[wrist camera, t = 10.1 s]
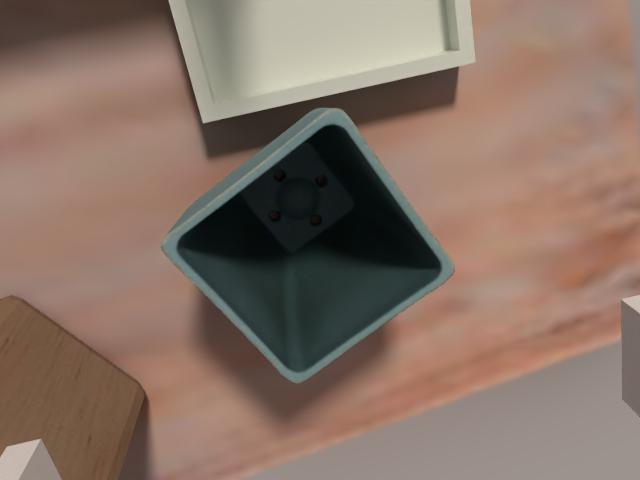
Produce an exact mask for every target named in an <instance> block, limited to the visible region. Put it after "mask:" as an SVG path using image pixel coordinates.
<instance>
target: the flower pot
mask: <svg viewBox="0 0 640 480" xmlns="http://www.w3.org/2000/svg"><path fill="white" fill-rule="evenodd" d="M276 171H282V172H283V173H284V178H283V179H282V180H277V179H276V178H275V176H274V174H275V172H276ZM318 176H323V177H324V178H325V183H324V184H322V185H319V184H318V183H317V182H316V179H317V177H318ZM273 211H277V212H278V213H279V218H278V219H277V220H273V219H271V218H270V213H271V212H273ZM312 216H318V217H319V219H320V220H319V222H318V223H317V224H313V223H311V217H312ZM161 248H162V251H163V252H164V254H165V255H166V256H167V257H168V258H169V259H170V260H171V262H172V263H173V264H174V265H175V266H177V267H178V269H179V270H181V271H182V273H183V274H184V275H185V276H186V277H187V278H189V279H190V280H191V282H192V283H193V284H194V285H195V286H196V287H197V288H198V289H199V290H201V291H202V292H203V293H204V295H205V296H207V297H208V298H209V299H210V300H211V301H212V303H214V304H215V305H216V306H217V307H218V308H219V309H220V310H221V311H222V313H223V314H225V316H226V317H227V318H228V319H229V320H230V321H231V322H232V323H233V324H234V325H235V326H236V327H237V328H238V329H239V330H240V331H241V332H242V333H243V334H244V335H245V336H246V337H247V339H249V340H250V342H251V343H253V345H254V346H255V347H256V348H257V349H258V350H259V351H260V352H261V353H262V354H263V355H264V356H265V358H267V360H268V361H269V362H270V363H271V364H272V365H273V366H274V367H275V368H276V369H277V371H278V372H279V373H280V374H281V375H282V376H283V377H284V378H285V379H287V380H288V381H290V382H292V383H294V384H299V383H302V382H304V381H306V380H307V379H308V378H310V377H312V376H313V375H315V374H316V373H317V372H319V371H320V370H321V369H322V368H324V367H325V366H327V365H328V364H330V363H331V362H332V361H334V360H335V359H336V358H338V357H339V356H341V355H342V354H343V353H344V352H346V351H348V350H349V349H350V348H352V347H353V346H354V345H356V344H357V343H358V342H360V341H361V340H363V339H364V338H366V337H367V336H368V335H370V334H371V333H373V332H374V331H375V330H377V329H378V328H379V327H381V326H382V325H383V324H385V323H386V322H388V321H389V320H391V319H392V318H393V317H395V316H397V315H398V314H399V313H401V312H402V311H404V310H405V309H407V308H408V307H410V306H411V305H413V304H414V303H415V302H417V301H418V300H420V299H421V298H423V297H424V296H425V295H427V294H428V293H430V292H432V291H433V290H435V289H437V288H438V287H439V286H441V285H442V284H444V283H445V282H446V281H447V280H448V279H449V278H450V277H451V276H452V275H453V273H454V271H455V266H454V264H453V262H452V260H451V258H450V257H449V255H448V254H447V253H446V252H445V250H444V249H443V248H442V246H441V245H440V243H439V242H438V241H437V239H436V238H435V237H434V235H433V234H432V232H431V231H430V230H429V229H428V227H427V226H426V224H425V223H424V222H423V220H422V219H421V218H420V216H419V215H418V213H417V212H416V211H415V209H414V208H413V207H412V205H411V204H410V202H409V201H408V200H407V198H406V197H405V196H404V194H403V192H402V191H401V190H400V188H399V187H398V185H397V184H396V183H395V181H394V180H393V179H392V177H391V176H390V175H389V173H388V172H387V170H386V169H385V168H384V166H383V165H382V163H381V162H380V160H379V159H378V157H377V156H376V155H375V153H374V152H373V150H372V149H371V148H370V146H369V145H368V143H367V142H366V140H365V139H364V137H363V136H362V135H361V133H360V132H359V130H358V129H357V127H356V126H355V124H354V123H353V121H352V120H351V119H350V118H349V116H348V115H347V114H346V113H345V112H344V111H343V110H341V109H339V108H317V109H314V110H312V111H310V112H309V113H308V114H306V115H305V116H304V117H303V118H301V119H300V120H299V121H298V122H296V123H295V124H294V125H293V126H291V127H290V128H289V129H288V130H286V131H285V132H284V133H282V134H281V135H280V136H279V137H277V138H276V139H275V140H273V141H272V142H271V143H270V144H268V145H267V146H266V147H264V148H263V149H262V150H261V151H259V152H258V153H257V154H255V155H254V156H253V157H252V158H250V159H249V160H248V161H246V162H245V163H244V164H243V165H241V166H240V167H239V168H238V169H236V170H235V171H234V172H232V173H231V174H230V175H229V176H227V177H226V178H225V179H223V180H222V181H221V182H220V183H218V184H217V185H216V186H214V187H213V188H212V189H211V190H209V191H208V192H207V193H205V194H204V195H203V196H201V197H200V198H199V199H198V200H196V201H195V202H194V203H193V204H192V205H191V206H190V207H189V208H188V209H187V210H186V212H185V213H184V214H183V215H182V217H181V218H180V219H179V220H178V221H177V222H176V224H175V225H174V226H173V227H172V228H171V230H170V231H169V232H168V234H167V235H166V236H165V237H164V239H163V241H162V243H161Z"/></svg>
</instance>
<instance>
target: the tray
mask: <svg viewBox="0 0 640 480" xmlns="http://www.w3.org/2000/svg"><path fill="white" fill-rule="evenodd" d="M168 1H169V4H170V8H171V11H172V15H173V18H174V22H175V25H176V29H177V33H178V36H179V40H180V43H181V47H182V50H183V54H184V57H185V61H186V65H187V68H188V72H189V75H190V79H191V82H192V86H193V90H194V93H195V97H196V100H197V104H198V107H199V111H200V114H201V118H202V122H203V123H207V122H211V121H216V120H220V119H225V118H229V117H234V116H238V115H243V114H247V113H252V112H256V111H261V110H265V109H269V108H274V107H278V106H283V105H287V104H292V103H296V102H301V101H305V100H310V99H314V98H319V97H323V96H328V95H332V94H337V93H341V92H346V91H350V90H355V89H359V88H364V87H368V86H373V85H377V84H382V83H386V82H391V81H395V80H400V79H404V78H409V77H413V76H417V75H422V74H426V73H431V72H435V71H440V70H444V69H449V68H453V67H458V66H462V65H467V64H471V63H475V52H474V41H473V31H472V20H471V9H470V0H168Z"/></svg>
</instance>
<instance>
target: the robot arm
mask: <svg viewBox="0 0 640 480" xmlns="http://www.w3.org/2000/svg"><path fill="white" fill-rule="evenodd" d="M621 329H622V399H623V400H624V401H625V402H626V403H627V404H628V405H629V406H630V407H631V408H632V410H634V411H635V412H636V414H637V415H638V416H639V417H640V295H637V296H633V297H629V298H625V299H621ZM0 480H62V479H61V477H60V475H59V473H58V471H57V469H56V467H55V465H54V463H53V461H52V459H51V457H50V455H49V453H48V451H47V449H46V447H45V446H44V444H43V442H42V440H41V439H38V440H33V441H29V442H25V443H21V444H17V445H13V446H8V447H6V449H5V450H4V452H3V454H2V455H1V457H0Z"/></svg>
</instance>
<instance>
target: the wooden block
mask: <svg viewBox="0 0 640 480" xmlns="http://www.w3.org/2000/svg"><path fill="white" fill-rule="evenodd" d="M144 397H145V394H144V389H143V388H142V387H141V385H140V384H139V382H138V381H136V380H135V379H134V378H132V377H131V376H130V375H128V374H127V373H125V372H124V371H123V370H121V369H120V368H118V367H117V366H116V365H114V364H113V363H111V362H110V361H109V360H107V359H106V358H104V357H103V356H102V355H100V354H99V353H97V352H96V351H95V350H93V349H92V348H90V347H89V346H88V345H86V344H85V343H83V342H82V341H81V340H79V339H78V338H76V337H75V336H74V335H72V334H71V333H69V332H68V331H67V330H65V329H64V328H62V327H61V326H60V325H58V324H57V323H55V322H54V321H53V320H51V319H50V318H48V317H47V316H46V315H44V314H43V313H41V312H40V311H39V310H37V309H36V308H34V307H33V306H32V305H30V304H29V303H27V302H26V301H25V300H23V299H21V298H18V297H15V296H12V295H11V296H8V297H5V298H3V299H0V457H1V455H2V454H3V452H4V450H5V449H6V447H8V446H13V445H17V444H21V443H25V442H29V441H33V440H38V439H41V440H42V442H43V444H44V446H45V447H46V449H47V451H48V453H49V455H50V457H51V459H52V461H53V463H54V465H55V467H56V469H57V471H58V473H59V475H60V477H61V479H62V480H119V476H120V473H121V470H122V467H123V464H124V460H125V457H126V454H127V451H128V448H129V444H130V441H131V438H132V435H133V432H134V429H135V425H136V422H137V419H138V416H139V413H140V409H141V406H142V403H143V400H144Z"/></svg>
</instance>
